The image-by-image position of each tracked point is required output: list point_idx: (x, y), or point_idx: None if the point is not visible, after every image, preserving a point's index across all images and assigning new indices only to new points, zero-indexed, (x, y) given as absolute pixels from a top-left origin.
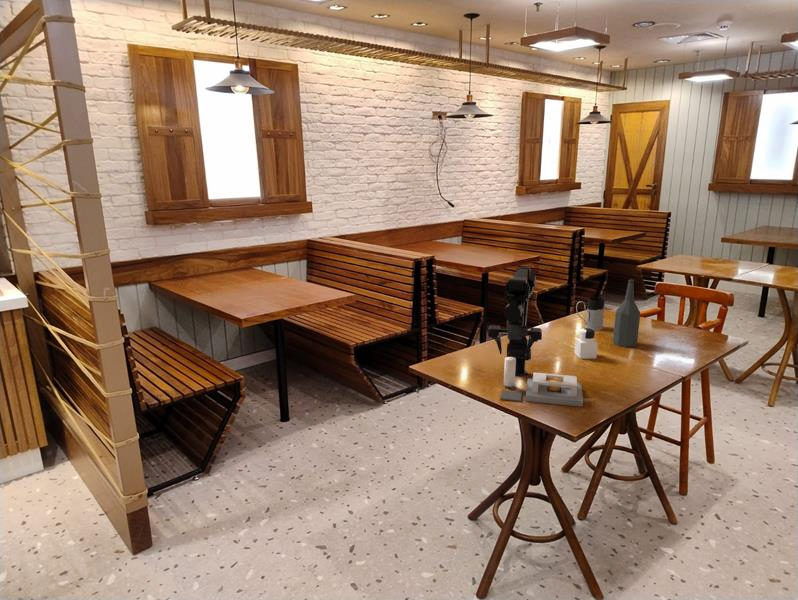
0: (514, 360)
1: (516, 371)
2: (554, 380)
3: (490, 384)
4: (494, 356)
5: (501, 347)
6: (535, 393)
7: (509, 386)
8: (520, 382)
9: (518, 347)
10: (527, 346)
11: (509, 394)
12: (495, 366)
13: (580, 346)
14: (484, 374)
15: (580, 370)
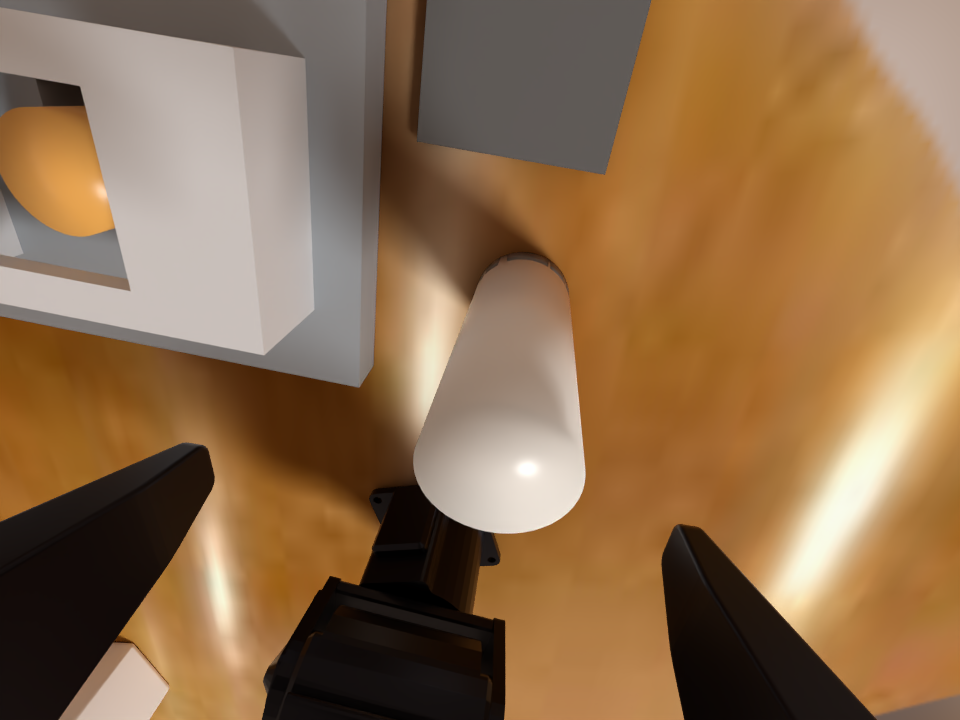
0: (436, 415)
1: None
2: (69, 227)
3: (675, 335)
4: (552, 696)
5: (686, 699)
6: (266, 16)
7: (522, 259)
8: (424, 380)
9: (372, 714)
10: (12, 638)
11: (545, 68)
12: (569, 600)
13: (83, 716)
14: (675, 503)
15: None
